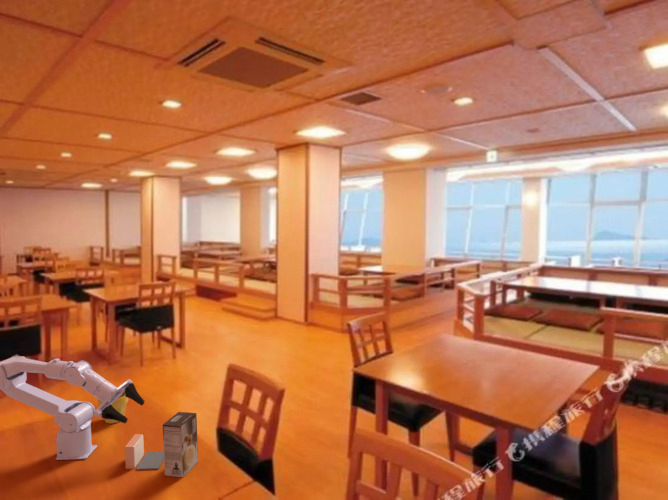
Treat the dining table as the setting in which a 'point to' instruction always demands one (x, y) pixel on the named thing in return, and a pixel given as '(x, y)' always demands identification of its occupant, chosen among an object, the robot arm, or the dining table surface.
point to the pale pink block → (134, 451)
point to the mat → (151, 460)
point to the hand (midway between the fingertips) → (135, 412)
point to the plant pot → (117, 406)
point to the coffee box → (180, 444)
